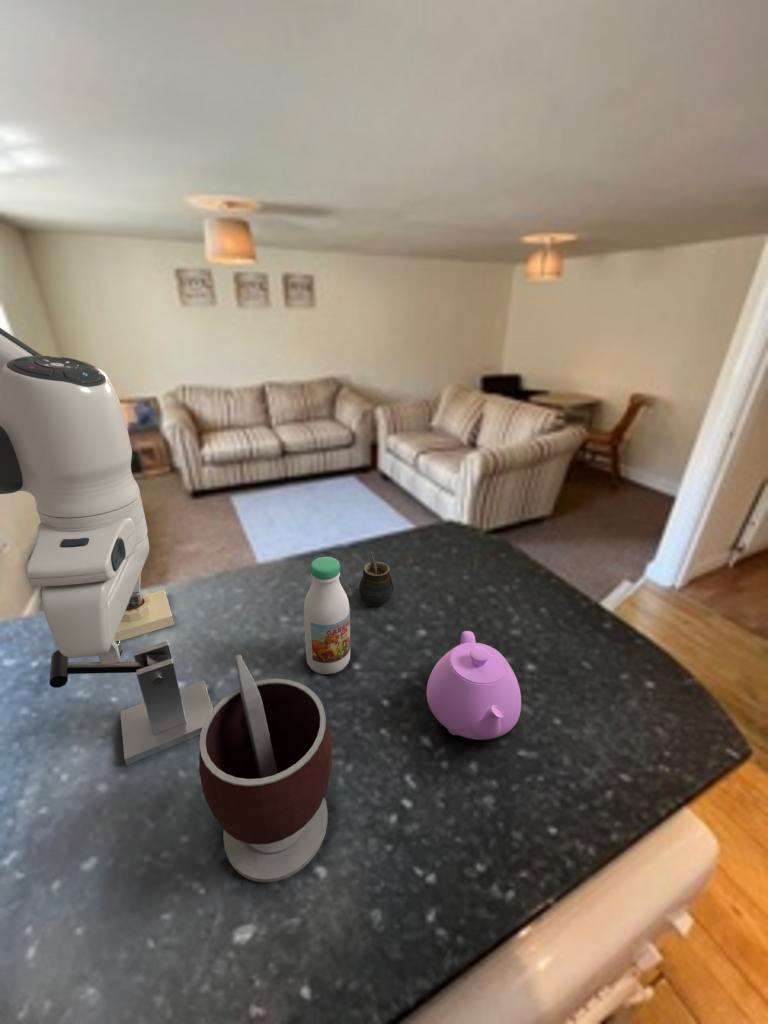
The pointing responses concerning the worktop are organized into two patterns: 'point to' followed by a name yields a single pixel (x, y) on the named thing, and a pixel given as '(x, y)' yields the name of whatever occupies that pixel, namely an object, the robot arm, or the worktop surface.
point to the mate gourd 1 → (267, 774)
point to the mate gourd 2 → (376, 583)
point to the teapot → (474, 691)
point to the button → (135, 608)
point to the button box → (146, 617)
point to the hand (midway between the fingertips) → (123, 630)
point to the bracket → (162, 708)
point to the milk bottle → (326, 619)
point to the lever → (93, 667)
